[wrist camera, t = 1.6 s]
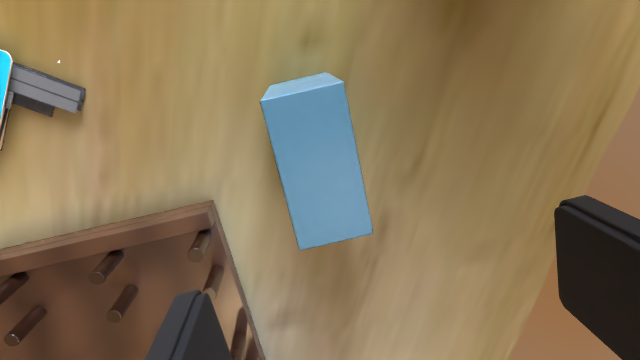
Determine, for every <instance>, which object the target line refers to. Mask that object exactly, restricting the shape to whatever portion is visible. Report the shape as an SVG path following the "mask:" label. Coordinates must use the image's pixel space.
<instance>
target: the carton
mask: <svg viewBox="0 0 640 360" xmlns="http://www.w3.org/2000/svg"><path fill="white" fill-rule="evenodd" d="M260 104H261V107H262V111H263V115H264V119H265V123H266V126H267V130H268V134H269V138H270V141H271V145H272V149H273V153H274V157H275V160H276V164H277V168H278V172H279V176H280V179H281V183H282V187H283V191H284V194H285V198H286V202H287V206H288V210H289V213H290V217H291V221H292V225H293V228H294V232H295V236H296V240H297V244H298V247H299V250H305V249H309V248H314V247H318V246H322V245H327V244H331V243H335V242H340V241H344V240H348V239H353V238H357V237H361V236H366V235H370V234H373V228H372V223H371V218H370V213H369V208H368V203H367V198H366V192H365V187H364V182H363V177H362V172H361V167H360V162H359V157H358V152H357V147H356V141H355V136H354V131H353V126H352V121H351V116H350V111H349V106H348V101H347V96H346V90H345V85H344V82H343V81H341V80H340V79H338V78H336V77H334V76H332V75H331V74H329V73H327V72H325V73H321V74H317V75H312V76H308V77H304V78H299V79H295V80H291V81H286V82H282V83H278V84H273V85H270V86H269V88H268V89H267V91H266V92H265V94H264V96H263V97H262V99H261V100H260Z"/></svg>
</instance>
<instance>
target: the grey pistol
mask: <svg viewBox="0 0 640 360" xmlns="http://www.w3.org/2000/svg"><path fill="white" fill-rule="evenodd" d="M58 63H60V61H58ZM85 90H86V89H84V88H81V87H79V86H76V85H73V84H70V83H68V82H65V81H62V80H60V79H58V78H55V77H52V76H50V75H47V74H44V73H42V72H39V71H36V70H34V69H31V68H28V67H25V66H23V65H20V64H17V63H15V62H13V61H12V57H11V56H10V54H9V53H8V52H6V51H3V50H1V49H0V150H2V146H3V141H4V136H5V130H6V125H7V120H8V115H9V109H11V107H12V103H14V104H17V105H19V106H22V107H25V108H28V109H31V110H34V111H36V112H39V113H42V114H45V115H48V116H51V117H52V115H53V111H54V106H56V107H58V108H61V109H64V110H67V111H70V112H72V113H75V114H76V110H78V111H81V106H82V102H83V101H81V100H79V98H80V99H83V98H84V94H85Z"/></svg>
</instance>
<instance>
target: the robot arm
mask: <svg viewBox="0 0 640 360" xmlns="http://www.w3.org/2000/svg"><path fill="white" fill-rule="evenodd" d="M554 218H555V235H556V253H557V269H558V270H557V271H558V288H559V297H560V300H561V302H562V304H563V306H564V307H565V308H566V309H567V310H568V311H569V312H570V313H571V314H572V315H573V316H575V317H576V318H577V319H578V320H579V321H580V322H581V323H582V324H584V325H585V326H586V327H587V328H588V329H589V330H590V331H591V332H592V333H593V334H594V335H596V336H597V337H598V338H599V339H600V340H601V341H602V342H603V343H604V344H605V345H607V346H608V347H609V348H610V349H611V350H612V351H613V352H614V353H615V354H617V355H618V356H619V357H620V358H621V359H622V360H640V220H639V219H637V218H635V217H633V216H630V215H629V214H626V213H624V212H622V211H620V210H618V209H615V208H613V207H611V206H609V205H607V204H605V203H602V202H600V201H598V200H596V199H594V198H592V197H589V196H586V195H584V196H579V197H575V198H571V199H567V200H563V201H561V202H560V205H559V207H557V208H556V209H555V211H554ZM144 360H233V359H232V356H231V353H230V350H229V348H228V345H227V342H226V339H225V337H224V334H223V331H222V328H221V326H220V323H219V320H218V317H217V315H216V312H215V309H214V306H213V304H212V301H211V298H210V296H209V295H208V294H207V293H205V294H202V293H201V291H200V290H194V291H190V292H186V293H182V294H178V295H176V296H175V298H174V300H173V302H172V304H171V306H170V308H169V310H168V312H167V314H166V317H165V319H164V321H163V323H162V325H161V327H160V329H159V331H158V333H157V335H156V337H155V340H154V342H153V344H152V346H151V348H150V350H149V352H148V354H147V356H146V358H145V359H144Z"/></svg>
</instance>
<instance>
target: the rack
mask: <svg viewBox="0 0 640 360" xmlns="http://www.w3.org/2000/svg"><path fill="white" fill-rule="evenodd" d="M194 290H200V291H201V293H202V294H205V293H207V294H208V295H209V296H210V298H211V301H212V304H213V306H214V309H215V312H216V315H217V317H218V320H219V323H220V326H221V328H222V331H223V334H224V337H225V339H226V342H227V345H228V348H229V350H230V353H231V356H232V359H233V360H265V357H264V354H263V351H262V348H261V345H260V342H259V339H258V336H257V332H256V329H255V326H254V323H253V320H252V317H251V314H250V311H249V308H248V305H247V302H246V299H245V296H244V293H243V289H242V286H241V283H240V280H239V277H238V274H237V271H236V268H235V265H234V262H233V259H232V256H231V253H230V250H229V247H228V243H227V240H226V237H225V234H224V231H223V228H222V225H221V222H220V219H219V216H218V213H217V210H216V207H215V204H214V201H213V200H212V201H208V202H203V203H199V204H195V205H190V206H186V207H182V208H177V209H173V210H169V211H164V212H160V213H156V214H151V215H147V216H143V217H138V218H134V219H130V220H125V221H121V222H117V223H113V224H108V225H104V226H100V227H95V228H91V229H87V230H82V231H78V232H74V233H69V234H65V235H61V236H56V237H52V238H48V239H43V240H39V241H35V242H30V243H26V244H22V245H17V246H13V247H9V248H5V249H0V360H144V359H145V358H146V356H147V354H148V352H149V350H150V348H151V346H152V344H153V342H154V340H155V337H156V335H157V333H158V331H159V329H160V327H161V325H162V323H163V321H164V319H165V317H166V314H167V312H168V310H169V308H170V306H171V304H172V302H173V300H174V298H175V296H176V295H178V294H182V293H186V292H190V291H194Z"/></svg>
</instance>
